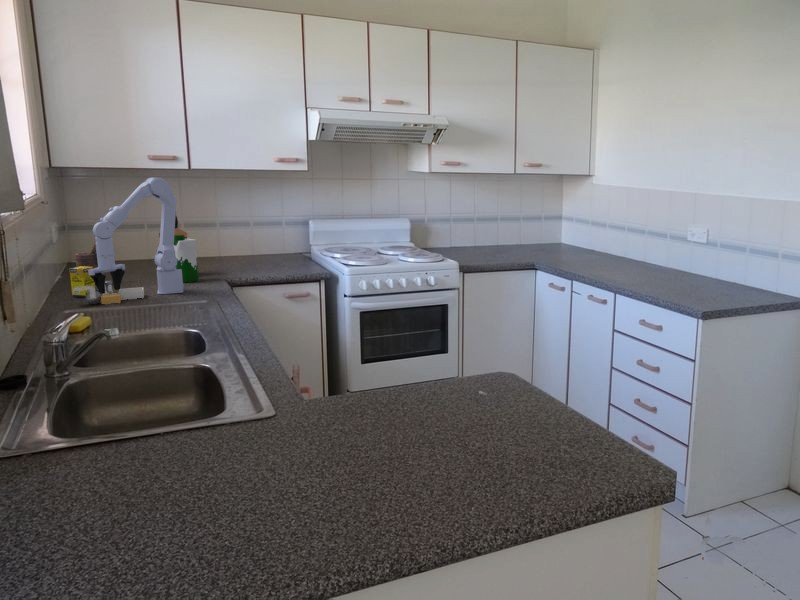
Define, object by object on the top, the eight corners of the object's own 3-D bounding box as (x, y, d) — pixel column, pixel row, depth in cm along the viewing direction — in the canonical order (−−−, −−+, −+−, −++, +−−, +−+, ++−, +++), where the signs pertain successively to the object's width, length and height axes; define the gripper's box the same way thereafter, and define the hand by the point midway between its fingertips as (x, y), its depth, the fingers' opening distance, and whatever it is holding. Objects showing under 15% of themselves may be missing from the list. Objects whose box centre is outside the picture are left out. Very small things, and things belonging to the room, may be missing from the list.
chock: (121, 301, 224) (120, 293, 224) (120, 304, 220) (119, 295, 219) (103, 302, 222) (102, 294, 222) (101, 305, 218) (101, 297, 217)
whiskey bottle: (193, 276, 276) (187, 204, 270) (173, 279, 269) (167, 205, 262) (179, 273, 282) (173, 203, 276) (160, 276, 275) (153, 204, 268)
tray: (144, 294, 234) (143, 287, 234) (143, 298, 228) (143, 290, 227) (119, 296, 231) (119, 288, 231) (118, 300, 225) (118, 292, 224)
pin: (114, 297, 229) (113, 280, 228) (114, 299, 226) (112, 281, 225) (105, 298, 228) (103, 281, 227) (104, 300, 225) (102, 282, 224)
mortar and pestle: (109, 281, 264) (104, 235, 259) (108, 284, 256) (103, 237, 252) (79, 283, 259) (73, 236, 255) (77, 286, 251) (72, 238, 247)
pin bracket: (116, 297, 230) (116, 293, 230) (116, 299, 226) (115, 295, 225) (103, 298, 228) (103, 294, 228) (102, 300, 224) (102, 296, 224)
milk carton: (172, 281, 263) (168, 234, 259) (192, 278, 269) (188, 233, 265) (182, 283, 257) (178, 236, 253) (202, 281, 263) (198, 234, 259)
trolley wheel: (102, 301, 222) (101, 285, 221) (101, 304, 217) (99, 287, 216) (77, 303, 219) (75, 286, 218) (75, 306, 214) (73, 289, 213)
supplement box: (85, 297, 230) (82, 268, 228) (72, 297, 231) (68, 268, 229) (96, 294, 236) (93, 266, 233) (83, 293, 237) (79, 266, 235)
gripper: (96, 258, 216) (100, 296, 219) (129, 253, 229) (133, 288, 232) (82, 257, 219) (86, 294, 221) (115, 252, 232) (119, 287, 234)
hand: (109, 291), depth 227 cm, fingers open, 6 cm apart
